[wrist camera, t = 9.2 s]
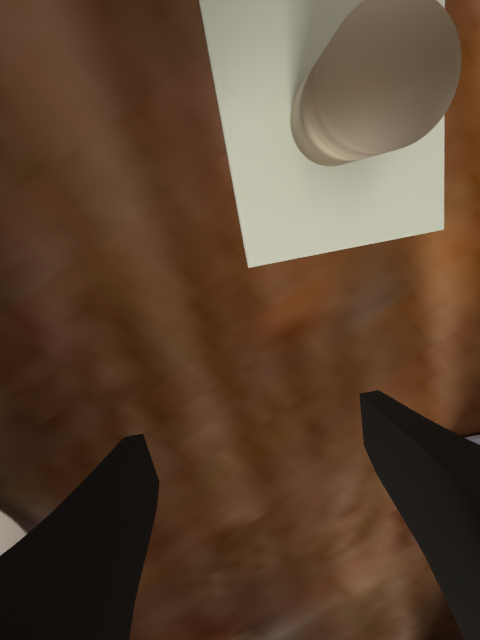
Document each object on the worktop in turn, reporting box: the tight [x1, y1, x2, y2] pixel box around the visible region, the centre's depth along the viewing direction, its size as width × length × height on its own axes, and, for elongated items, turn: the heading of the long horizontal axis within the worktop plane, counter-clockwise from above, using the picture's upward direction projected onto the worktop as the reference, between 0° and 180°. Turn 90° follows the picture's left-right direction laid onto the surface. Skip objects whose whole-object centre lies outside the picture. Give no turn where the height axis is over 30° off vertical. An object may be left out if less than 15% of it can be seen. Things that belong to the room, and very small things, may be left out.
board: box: [199, 0, 445, 268], centre depth 16 cm, size 12×10×1 cm
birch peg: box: [290, 0, 461, 166], centre depth 13 cm, size 4×4×6 cm
